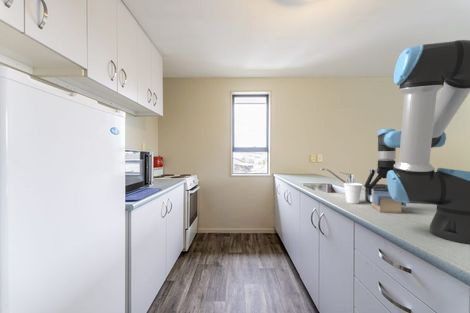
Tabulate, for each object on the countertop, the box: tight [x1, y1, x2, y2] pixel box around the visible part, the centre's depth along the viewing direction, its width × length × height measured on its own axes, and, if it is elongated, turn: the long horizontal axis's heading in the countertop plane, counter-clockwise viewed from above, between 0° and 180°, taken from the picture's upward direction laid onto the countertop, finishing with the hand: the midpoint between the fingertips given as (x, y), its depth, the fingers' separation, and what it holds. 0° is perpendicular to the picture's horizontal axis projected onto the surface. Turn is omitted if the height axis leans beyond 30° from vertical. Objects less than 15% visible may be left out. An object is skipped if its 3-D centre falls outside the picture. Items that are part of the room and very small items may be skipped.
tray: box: [371, 198, 403, 214], centre depth 115 cm, size 12×9×7 cm
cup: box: [342, 182, 363, 205], centre depth 130 cm, size 10×10×11 cm
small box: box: [364, 183, 389, 204], centre depth 133 cm, size 11×6×10 cm, turn 84°
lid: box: [368, 191, 407, 207], centre depth 115 cm, size 14×12×5 cm
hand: (385, 202), depth 115 cm, fingers closed on lid, 12 cm apart
